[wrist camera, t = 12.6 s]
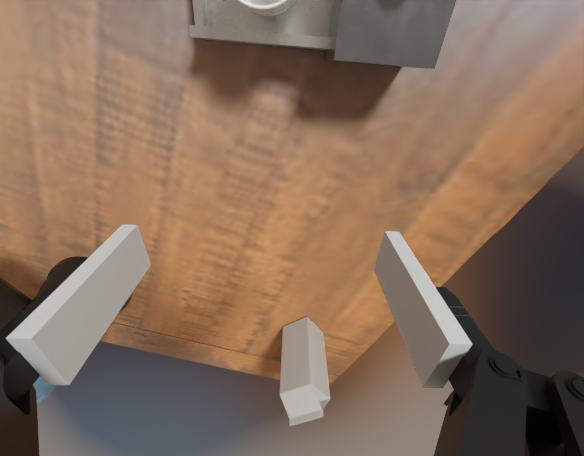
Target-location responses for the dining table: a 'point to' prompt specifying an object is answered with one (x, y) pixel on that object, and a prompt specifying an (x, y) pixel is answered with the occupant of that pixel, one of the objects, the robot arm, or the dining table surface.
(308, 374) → the white milk carton
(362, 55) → the grey cabinet
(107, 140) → the dining table surface
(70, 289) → the robot arm
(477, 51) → the dining table surface
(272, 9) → the white cup
